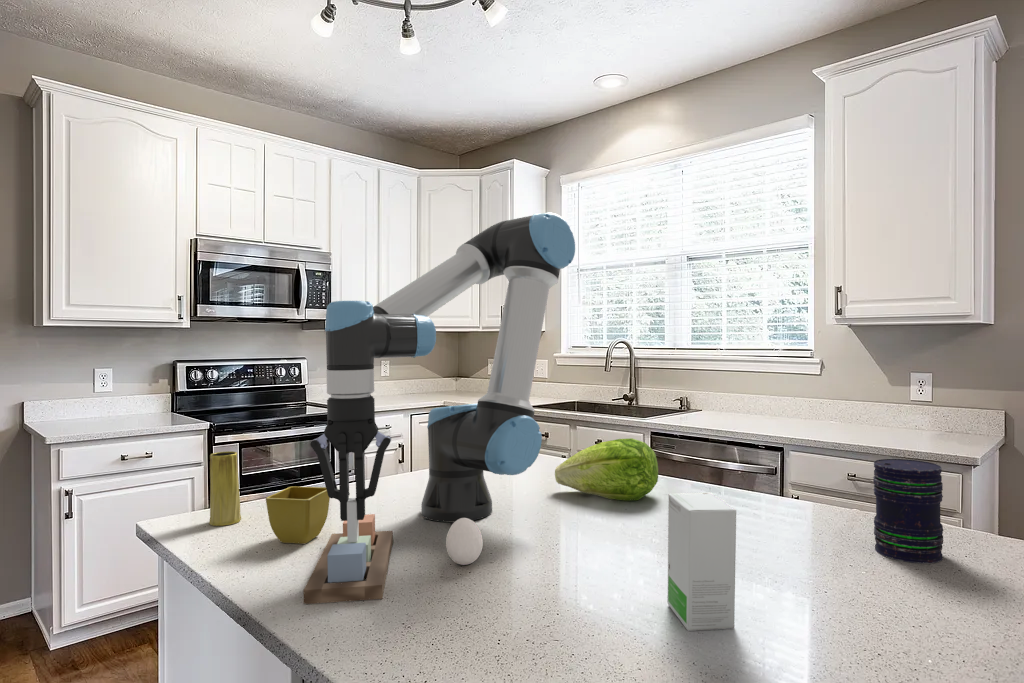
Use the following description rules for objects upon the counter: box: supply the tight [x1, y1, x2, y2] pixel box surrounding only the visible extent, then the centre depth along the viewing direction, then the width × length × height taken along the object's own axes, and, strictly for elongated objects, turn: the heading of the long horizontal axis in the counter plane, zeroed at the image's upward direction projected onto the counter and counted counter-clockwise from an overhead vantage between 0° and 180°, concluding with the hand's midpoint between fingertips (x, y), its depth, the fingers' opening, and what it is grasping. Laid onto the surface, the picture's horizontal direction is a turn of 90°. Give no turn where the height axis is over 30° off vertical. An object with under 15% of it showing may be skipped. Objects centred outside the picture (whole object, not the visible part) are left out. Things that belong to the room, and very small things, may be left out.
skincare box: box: [666, 491, 737, 632], centre depth 83 cm, size 8×7×16 cm
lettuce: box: [554, 438, 659, 502], centre depth 147 cm, size 14×24×15 cm
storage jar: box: [872, 458, 944, 565], centre depth 106 cm, size 10×10×15 cm
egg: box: [445, 518, 484, 566], centre depth 104 cm, size 6×6×8 cm
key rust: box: [342, 513, 376, 545], centre depth 111 cm, size 5×5×4 cm
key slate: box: [327, 543, 366, 583], centre depth 95 cm, size 5×5×4 cm
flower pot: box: [265, 485, 331, 545], centre depth 118 cm, size 9×9×9 cm
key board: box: [302, 530, 394, 605], centre depth 103 cm, size 11×26×2 cm, turn 7°
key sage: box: [337, 535, 371, 562], centre depth 103 cm, size 5×5×4 cm
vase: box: [208, 450, 242, 527], centre depth 131 cm, size 6×6×14 cm
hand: (353, 539), depth 103 cm, fingers closed
